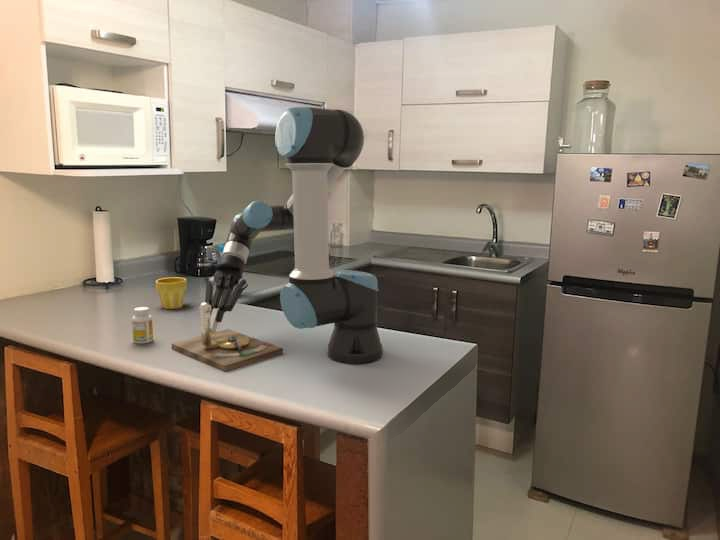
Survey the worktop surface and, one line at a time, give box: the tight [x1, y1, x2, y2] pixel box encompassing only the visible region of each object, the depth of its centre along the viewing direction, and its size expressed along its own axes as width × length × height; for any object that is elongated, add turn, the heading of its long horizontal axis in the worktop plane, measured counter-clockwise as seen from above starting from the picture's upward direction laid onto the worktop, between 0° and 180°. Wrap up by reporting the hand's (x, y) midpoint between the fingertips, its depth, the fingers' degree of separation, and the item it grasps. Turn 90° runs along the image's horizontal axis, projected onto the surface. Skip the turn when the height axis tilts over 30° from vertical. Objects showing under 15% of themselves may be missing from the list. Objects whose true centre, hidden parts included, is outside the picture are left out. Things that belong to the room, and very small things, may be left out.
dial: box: [198, 301, 249, 352], centre depth 158 cm, size 13×13×13 cm
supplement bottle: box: [131, 306, 154, 344], centre depth 167 cm, size 5×5×10 cm
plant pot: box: [155, 276, 188, 310], centre depth 205 cm, size 10×10×10 cm
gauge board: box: [171, 328, 284, 372], centre depth 161 cm, size 25×19×2 cm
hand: (210, 331), depth 160 cm, fingers closed
